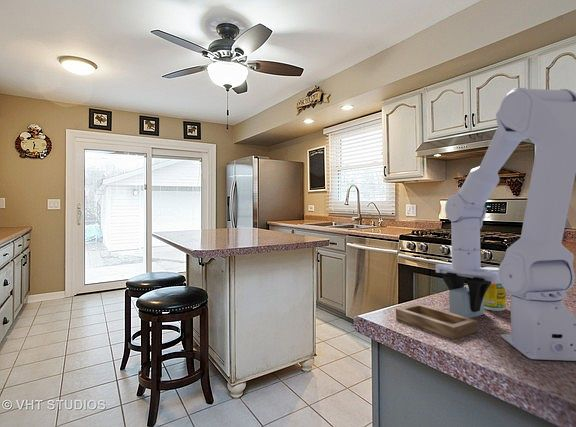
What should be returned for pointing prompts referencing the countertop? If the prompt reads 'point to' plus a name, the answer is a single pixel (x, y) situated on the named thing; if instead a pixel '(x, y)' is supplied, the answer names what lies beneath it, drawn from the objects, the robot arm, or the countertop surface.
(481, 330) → the countertop surface
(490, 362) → the countertop surface
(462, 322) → the wooden tray
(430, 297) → the countertop surface
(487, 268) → the supplement bottle
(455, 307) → the grey rectangular block
